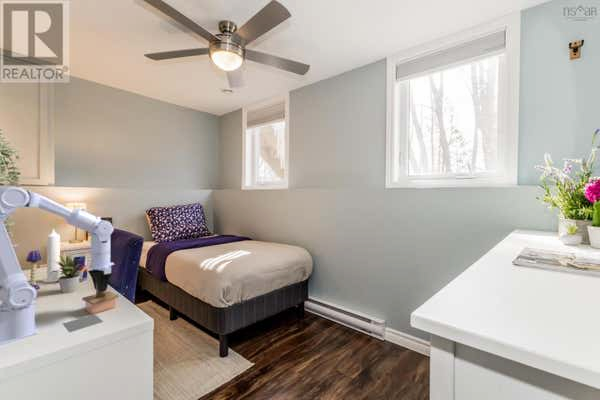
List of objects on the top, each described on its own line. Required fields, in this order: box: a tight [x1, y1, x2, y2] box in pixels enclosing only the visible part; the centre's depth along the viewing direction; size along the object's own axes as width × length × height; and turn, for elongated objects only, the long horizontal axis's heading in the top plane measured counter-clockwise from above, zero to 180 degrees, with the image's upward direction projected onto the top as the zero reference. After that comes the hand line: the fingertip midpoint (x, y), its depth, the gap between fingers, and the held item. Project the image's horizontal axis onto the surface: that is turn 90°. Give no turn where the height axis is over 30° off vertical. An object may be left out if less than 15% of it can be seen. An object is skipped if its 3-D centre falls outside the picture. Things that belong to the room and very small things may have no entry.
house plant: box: [50, 253, 88, 294], centre depth 113 cm, size 14×14×16 cm
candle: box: [43, 228, 61, 284], centre depth 126 cm, size 7×7×25 cm
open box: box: [85, 298, 116, 316], centre depth 96 cm, size 7×7×4 cm
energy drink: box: [72, 253, 88, 282], centre depth 127 cm, size 5×5×12 cm
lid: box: [81, 283, 119, 305], centre depth 96 cm, size 8×8×6 cm
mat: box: [62, 314, 104, 333], centre depth 85 cm, size 8×8×1 cm
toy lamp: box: [25, 250, 42, 291], centre depth 114 cm, size 5×5×17 cm
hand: (100, 289), depth 96 cm, fingers open, 3 cm apart
